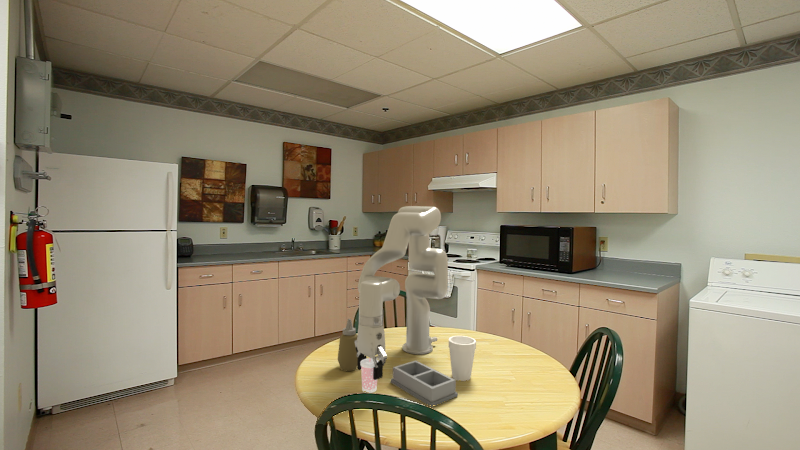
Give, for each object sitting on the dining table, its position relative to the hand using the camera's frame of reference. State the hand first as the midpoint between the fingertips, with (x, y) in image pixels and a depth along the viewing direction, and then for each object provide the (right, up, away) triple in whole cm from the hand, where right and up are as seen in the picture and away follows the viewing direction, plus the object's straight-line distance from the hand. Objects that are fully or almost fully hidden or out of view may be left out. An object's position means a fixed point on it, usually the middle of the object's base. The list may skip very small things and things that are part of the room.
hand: (369, 373), depth 121 cm
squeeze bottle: (-9, -5, +16) cm, 19 cm away
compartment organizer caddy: (+17, -6, +1) cm, 18 cm away
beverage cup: (0, -5, 0) cm, 5 cm away
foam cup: (+31, -6, +11) cm, 33 cm away
